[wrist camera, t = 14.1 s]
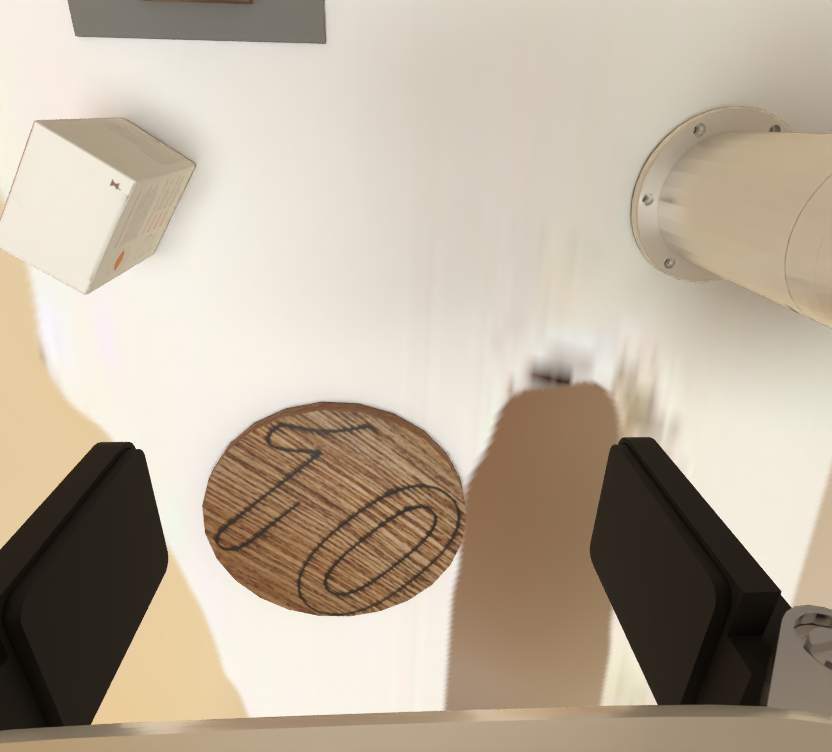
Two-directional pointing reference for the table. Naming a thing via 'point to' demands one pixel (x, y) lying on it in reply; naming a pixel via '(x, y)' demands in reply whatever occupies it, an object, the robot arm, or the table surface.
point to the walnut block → (209, 1)
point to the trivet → (334, 509)
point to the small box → (91, 199)
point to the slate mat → (201, 20)
